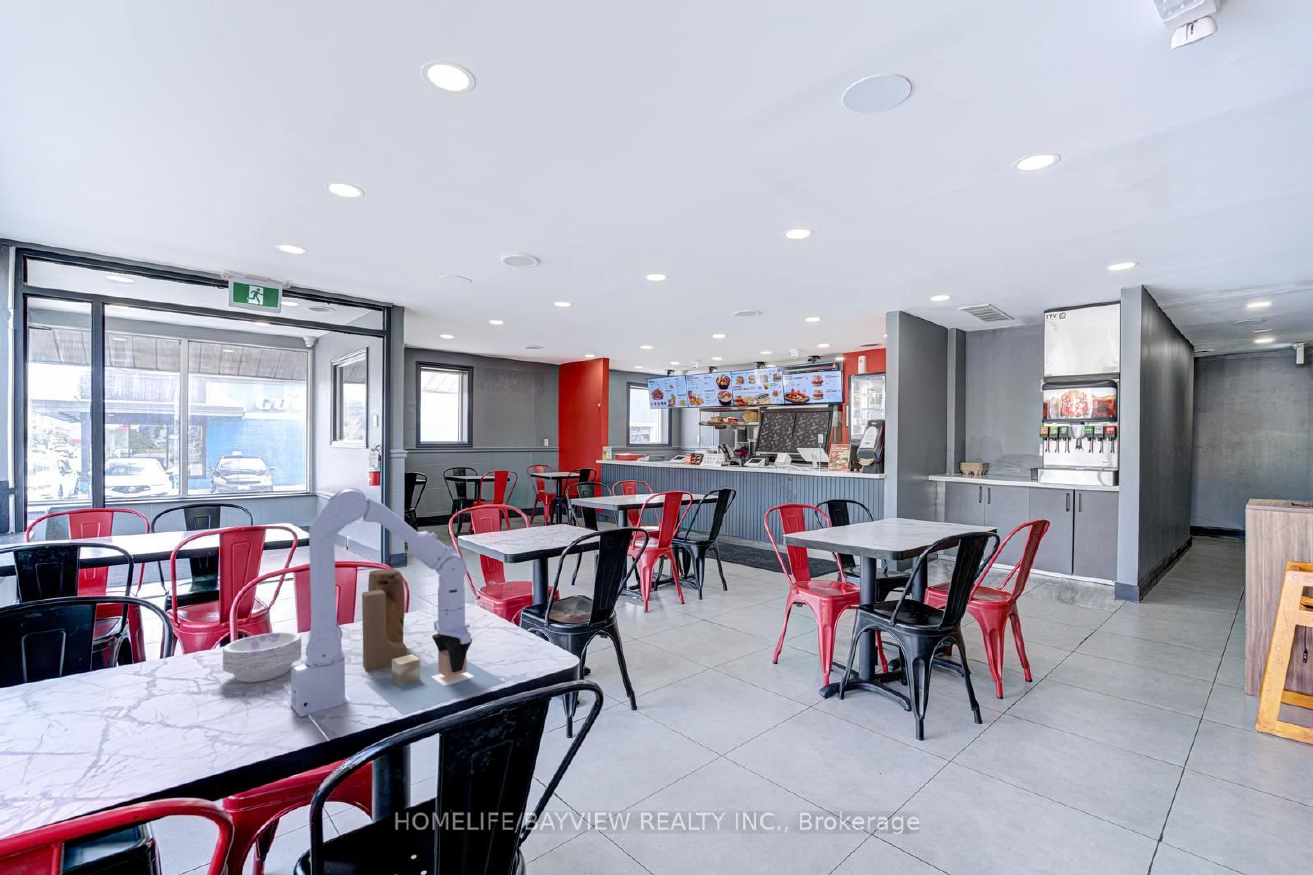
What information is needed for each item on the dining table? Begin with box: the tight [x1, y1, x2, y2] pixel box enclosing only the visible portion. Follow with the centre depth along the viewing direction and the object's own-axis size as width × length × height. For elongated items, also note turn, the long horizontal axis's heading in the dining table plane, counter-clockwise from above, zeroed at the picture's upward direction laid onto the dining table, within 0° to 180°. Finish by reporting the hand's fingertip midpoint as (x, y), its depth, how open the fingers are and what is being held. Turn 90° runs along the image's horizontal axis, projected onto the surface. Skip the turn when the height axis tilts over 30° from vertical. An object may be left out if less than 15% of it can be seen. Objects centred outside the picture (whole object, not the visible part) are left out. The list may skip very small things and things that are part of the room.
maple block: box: [391, 653, 421, 685], centre depth 135 cm, size 4×4×4 cm
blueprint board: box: [365, 659, 506, 716], centre depth 133 cm, size 22×22×1 cm
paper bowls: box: [222, 631, 302, 683], centre depth 140 cm, size 15×15×8 cm
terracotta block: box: [437, 650, 467, 678], centre depth 136 cm, size 4×4×4 cm
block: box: [367, 568, 406, 643], centre depth 157 cm, size 11×8×20 cm
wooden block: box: [361, 590, 408, 672], centre depth 144 cm, size 9×4×18 cm, turn 124°
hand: (452, 668), depth 136 cm, fingers closed on terracotta block, 4 cm apart
